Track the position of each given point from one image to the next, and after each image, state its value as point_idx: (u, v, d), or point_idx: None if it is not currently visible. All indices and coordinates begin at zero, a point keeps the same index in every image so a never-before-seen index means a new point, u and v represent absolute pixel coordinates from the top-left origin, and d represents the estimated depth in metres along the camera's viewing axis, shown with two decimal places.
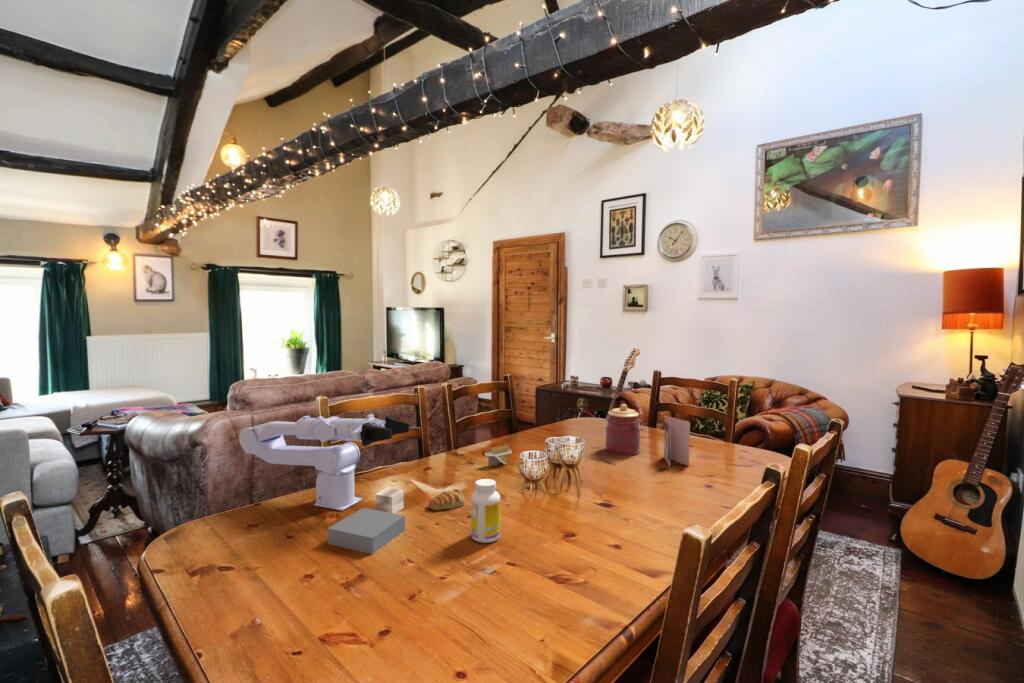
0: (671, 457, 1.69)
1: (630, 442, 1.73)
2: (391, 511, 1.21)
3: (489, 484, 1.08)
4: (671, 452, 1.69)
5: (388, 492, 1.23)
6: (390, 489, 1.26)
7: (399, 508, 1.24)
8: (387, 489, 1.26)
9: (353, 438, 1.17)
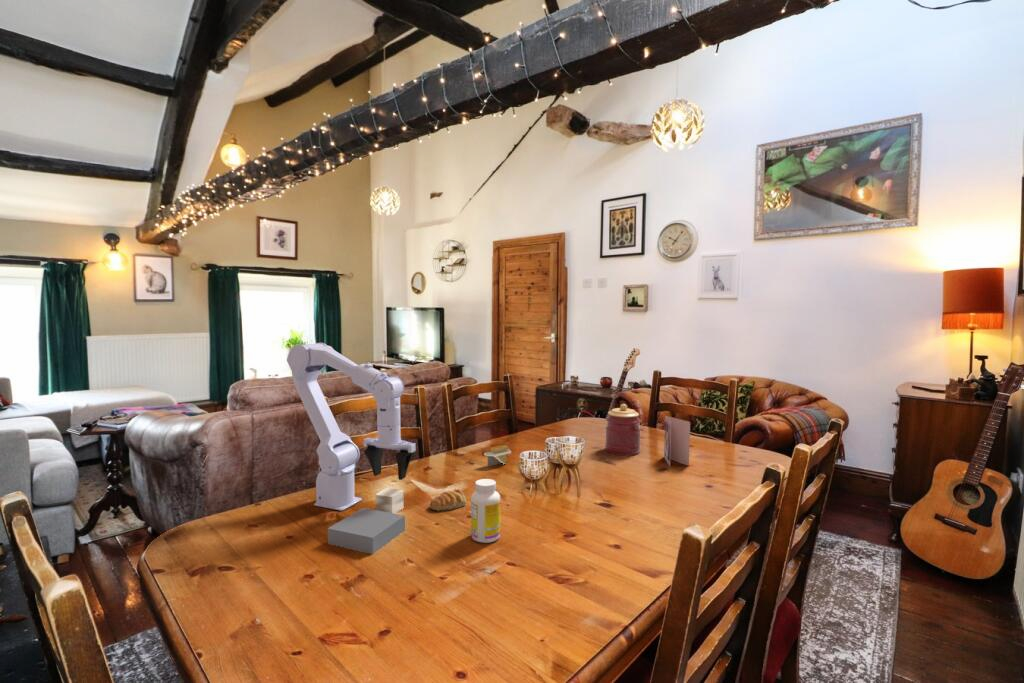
0: (671, 457, 1.69)
1: (630, 442, 1.73)
2: (391, 511, 1.21)
3: (489, 484, 1.08)
4: (671, 452, 1.69)
5: (388, 492, 1.23)
6: (390, 489, 1.26)
7: (399, 508, 1.24)
8: (387, 489, 1.26)
9: (412, 447, 1.20)
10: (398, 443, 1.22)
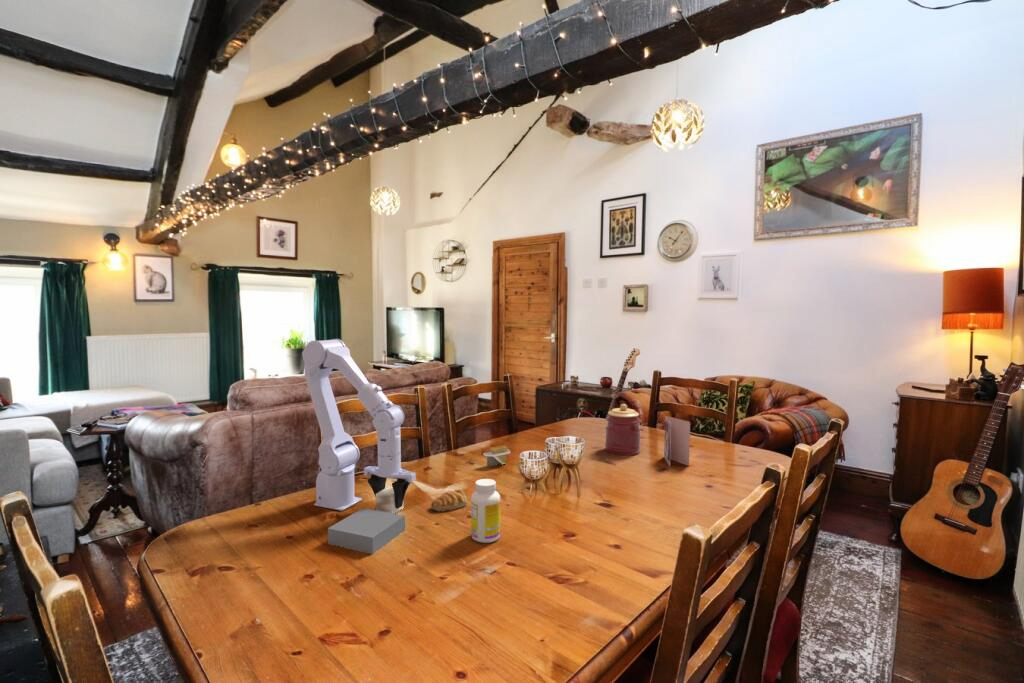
0: (671, 457, 1.69)
1: (630, 442, 1.73)
2: (391, 511, 1.21)
3: (489, 484, 1.08)
4: (671, 452, 1.69)
5: (388, 492, 1.23)
6: (390, 489, 1.26)
7: (399, 508, 1.24)
8: (387, 489, 1.26)
9: (412, 477, 1.20)
10: (398, 472, 1.22)
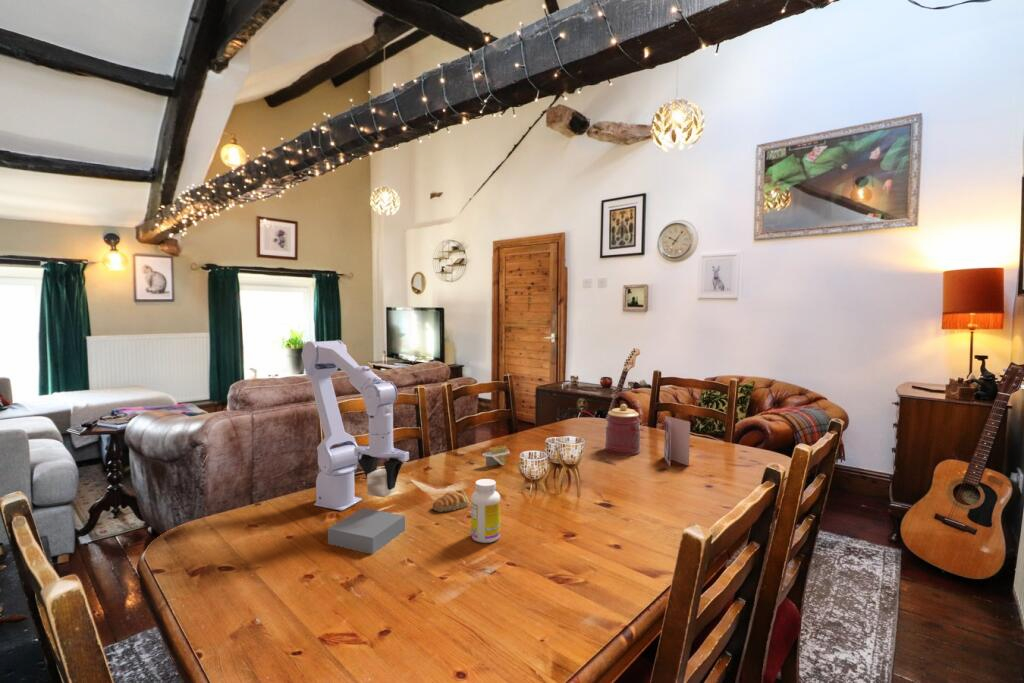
0: (671, 457, 1.69)
1: (630, 442, 1.73)
2: (383, 492, 1.15)
3: (489, 484, 1.08)
4: (671, 452, 1.69)
5: (380, 473, 1.17)
6: (382, 470, 1.20)
7: (392, 490, 1.18)
8: (379, 470, 1.20)
9: (405, 456, 1.14)
10: (391, 452, 1.16)
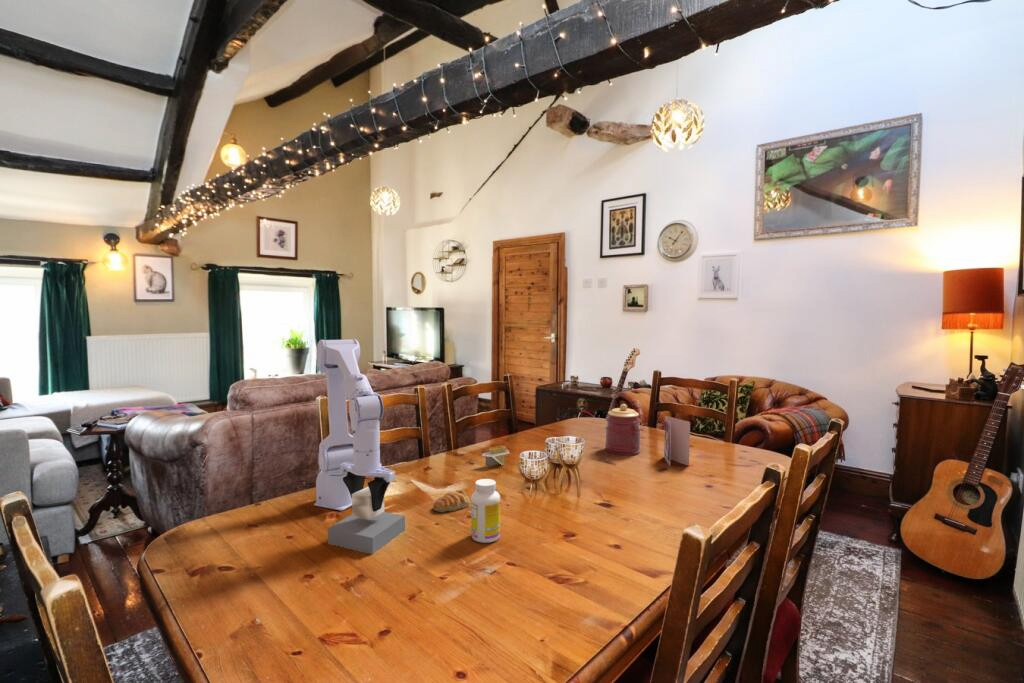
0: (671, 457, 1.69)
1: (630, 442, 1.73)
2: (368, 514, 1.06)
3: (489, 484, 1.08)
4: (671, 452, 1.69)
5: (366, 492, 1.09)
6: (369, 489, 1.11)
7: (378, 511, 1.09)
8: (366, 488, 1.11)
9: (390, 476, 1.05)
10: (376, 470, 1.07)
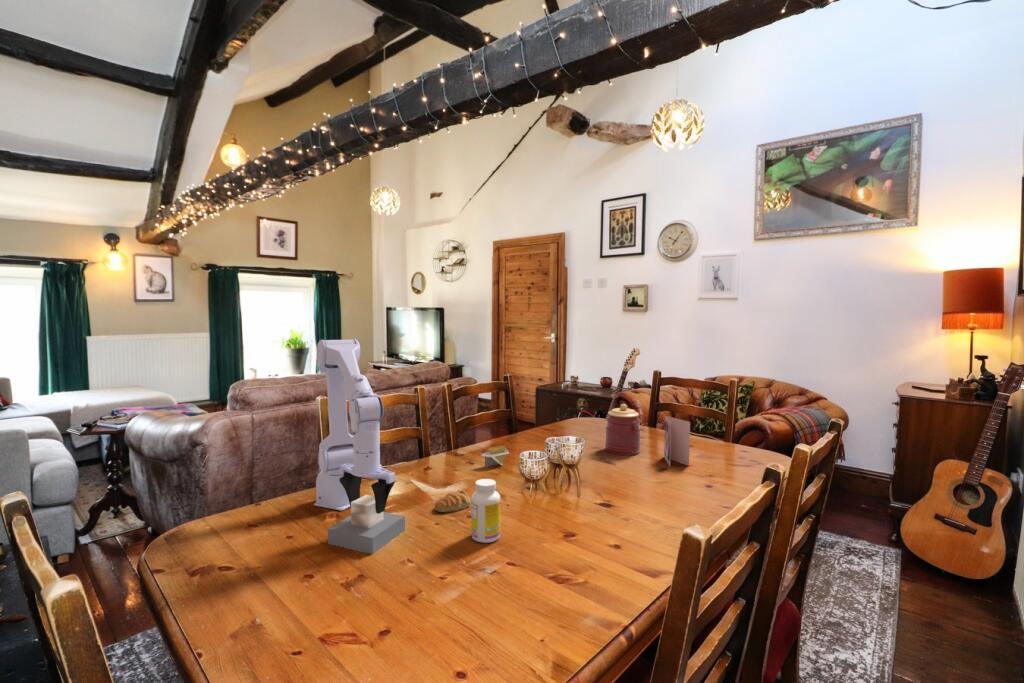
0: (671, 457, 1.69)
1: (630, 442, 1.73)
2: (367, 522, 1.06)
3: (489, 484, 1.08)
4: (671, 452, 1.69)
5: (365, 500, 1.09)
6: (368, 497, 1.11)
7: (377, 519, 1.09)
8: (365, 496, 1.11)
9: (390, 477, 1.05)
10: (376, 472, 1.07)
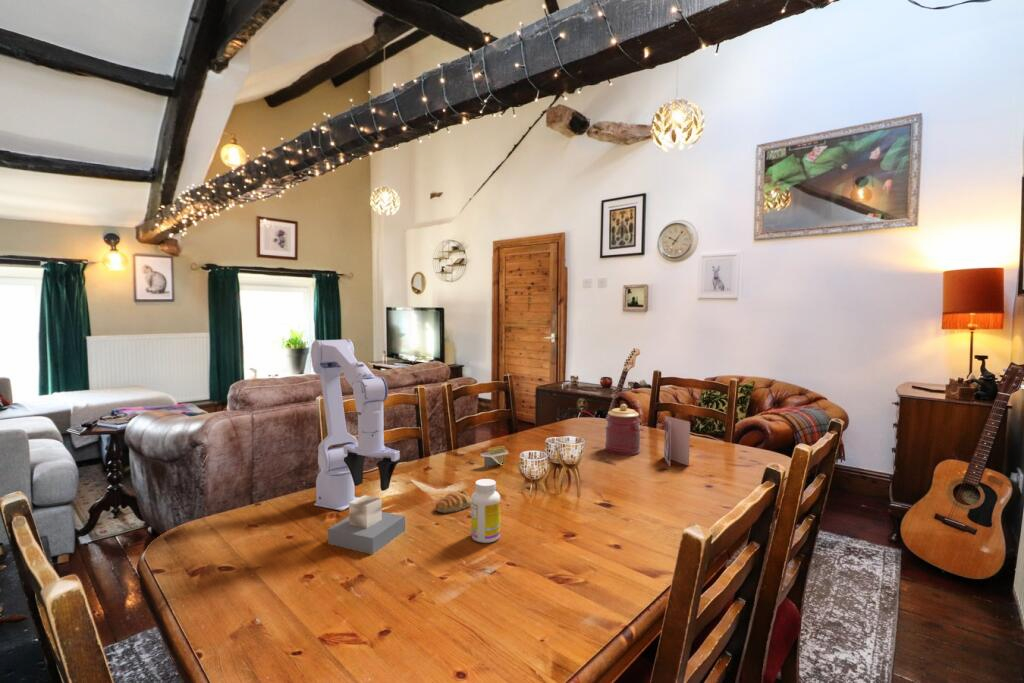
0: (671, 457, 1.69)
1: (630, 442, 1.73)
2: (366, 522, 1.06)
3: (489, 484, 1.08)
4: (671, 452, 1.69)
5: (363, 501, 1.09)
6: (367, 497, 1.11)
7: (376, 519, 1.09)
8: (364, 497, 1.11)
9: (395, 455, 1.09)
10: (381, 450, 1.11)
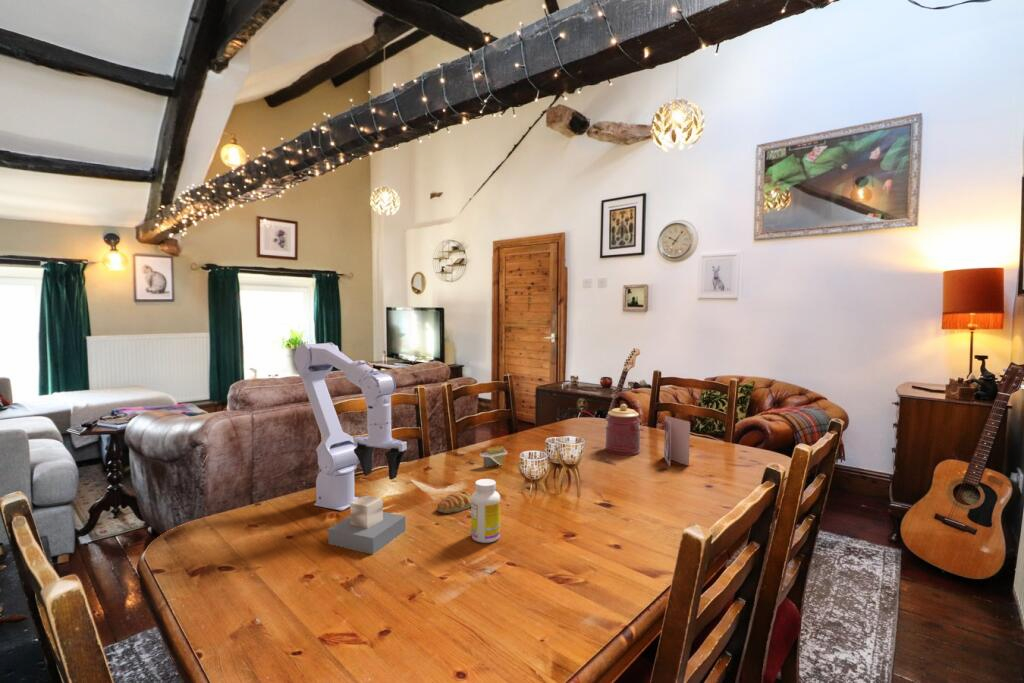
0: (671, 457, 1.69)
1: (630, 442, 1.73)
2: (366, 522, 1.06)
3: (489, 484, 1.08)
4: (671, 452, 1.69)
5: (364, 501, 1.09)
6: (368, 497, 1.11)
7: (377, 519, 1.09)
8: (365, 497, 1.11)
9: (403, 445, 1.16)
10: (389, 442, 1.18)
